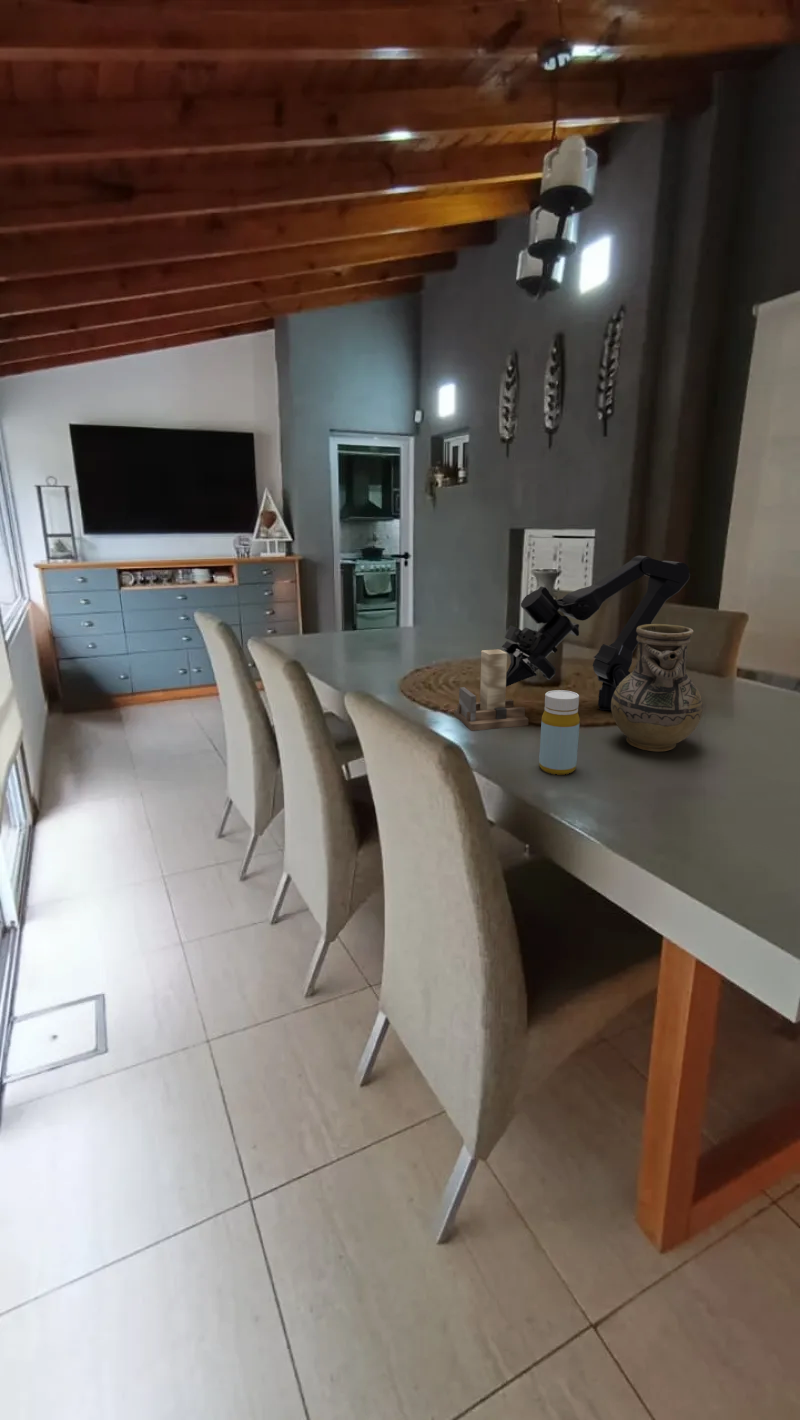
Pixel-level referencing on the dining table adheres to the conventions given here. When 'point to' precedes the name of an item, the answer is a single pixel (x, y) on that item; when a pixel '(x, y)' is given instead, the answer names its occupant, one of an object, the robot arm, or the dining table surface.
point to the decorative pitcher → (658, 691)
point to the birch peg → (493, 679)
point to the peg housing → (487, 713)
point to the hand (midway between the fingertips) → (503, 685)
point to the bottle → (559, 732)
